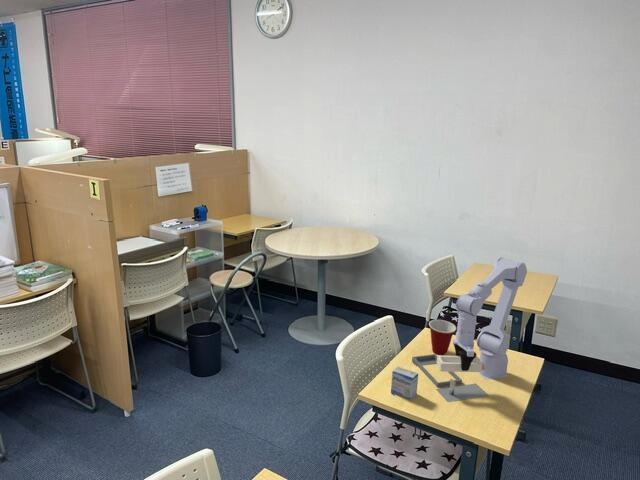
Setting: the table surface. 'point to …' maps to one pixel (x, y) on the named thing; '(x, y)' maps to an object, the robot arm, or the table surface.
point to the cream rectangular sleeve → (458, 364)
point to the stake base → (461, 392)
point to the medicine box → (404, 383)
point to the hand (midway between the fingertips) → (462, 365)
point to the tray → (431, 360)
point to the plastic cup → (441, 335)
